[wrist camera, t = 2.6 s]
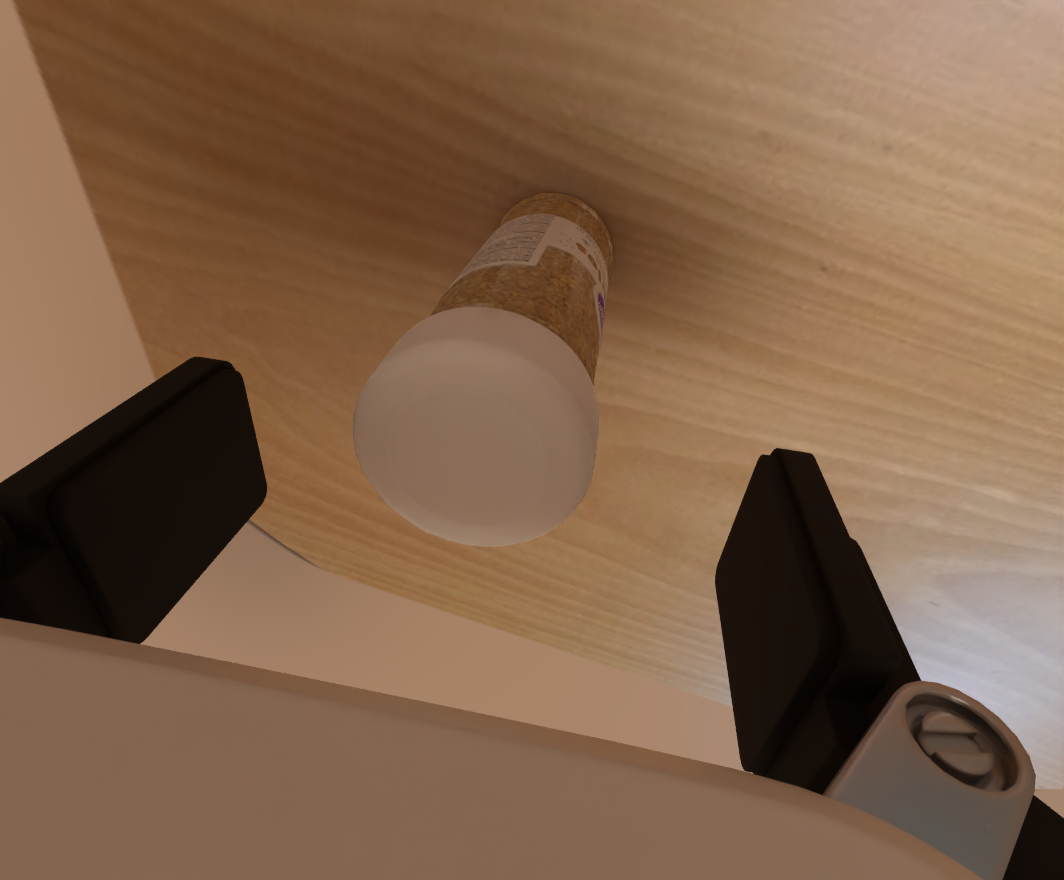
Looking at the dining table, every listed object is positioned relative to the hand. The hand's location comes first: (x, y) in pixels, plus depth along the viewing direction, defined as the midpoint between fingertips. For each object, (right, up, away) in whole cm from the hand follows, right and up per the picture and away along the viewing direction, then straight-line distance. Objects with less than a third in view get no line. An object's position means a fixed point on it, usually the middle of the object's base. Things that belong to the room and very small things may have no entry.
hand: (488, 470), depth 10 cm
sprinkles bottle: (+2, +8, +11) cm, 14 cm away
